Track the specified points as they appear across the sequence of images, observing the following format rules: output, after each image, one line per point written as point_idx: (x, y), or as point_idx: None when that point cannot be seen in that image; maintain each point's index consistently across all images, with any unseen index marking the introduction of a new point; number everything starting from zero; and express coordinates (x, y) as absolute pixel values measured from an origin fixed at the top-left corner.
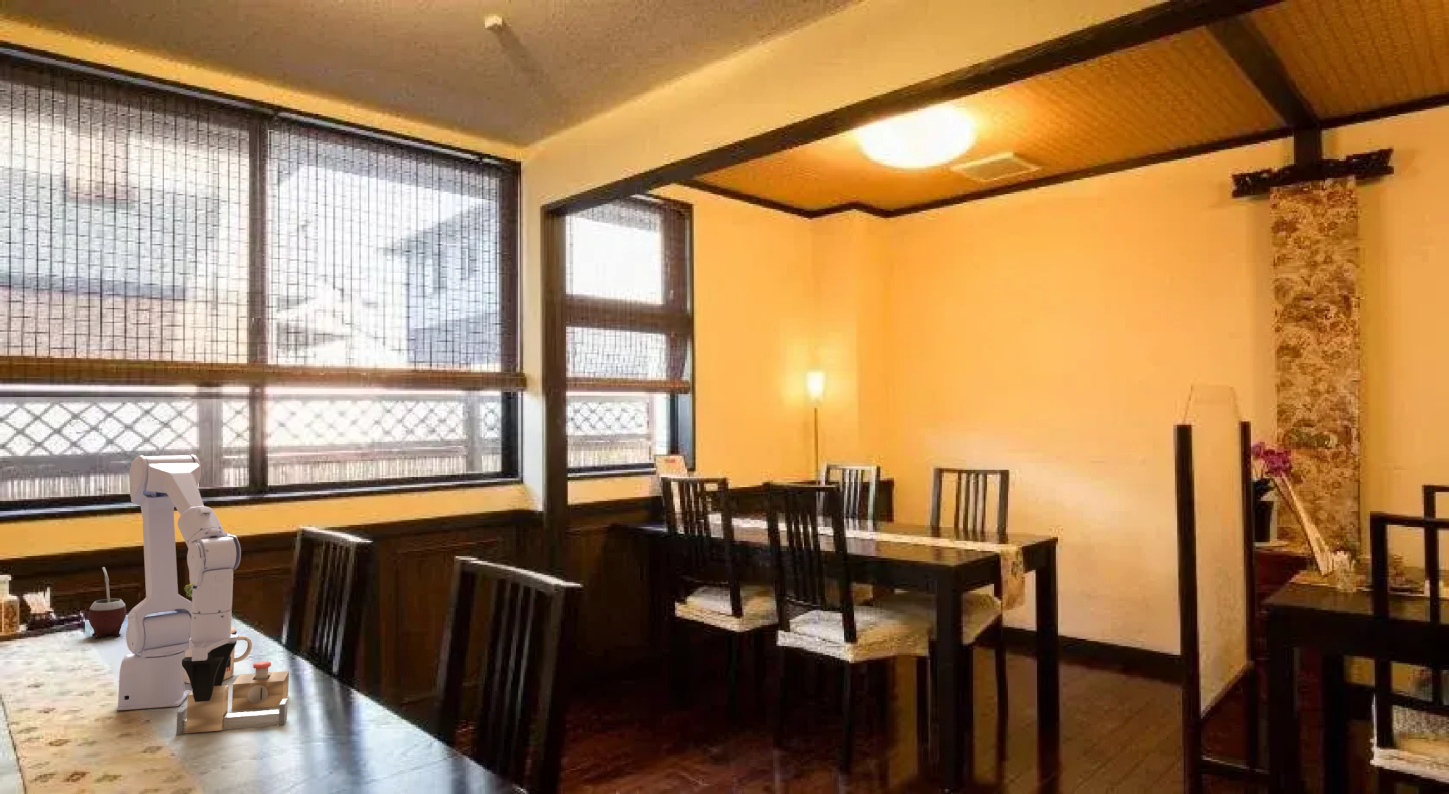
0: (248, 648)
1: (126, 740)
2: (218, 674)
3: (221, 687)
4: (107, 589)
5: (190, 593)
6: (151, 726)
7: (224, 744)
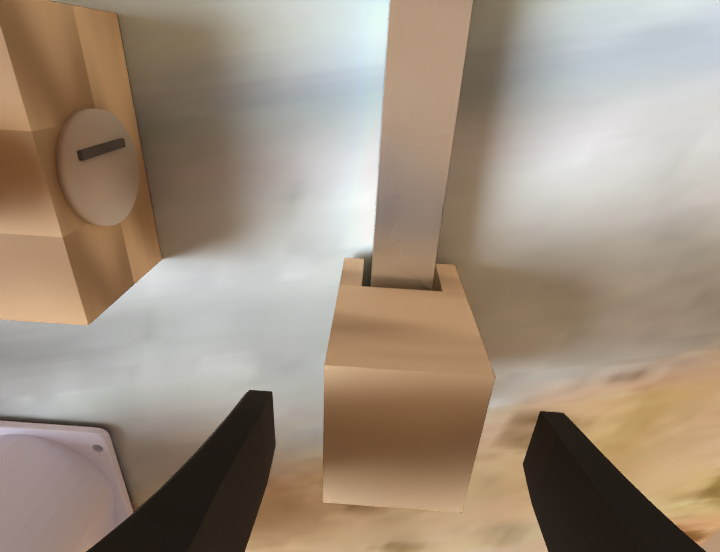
0: None
1: None
2: (247, 469)
3: (369, 395)
4: None
5: None
6: (300, 461)
7: (625, 228)
